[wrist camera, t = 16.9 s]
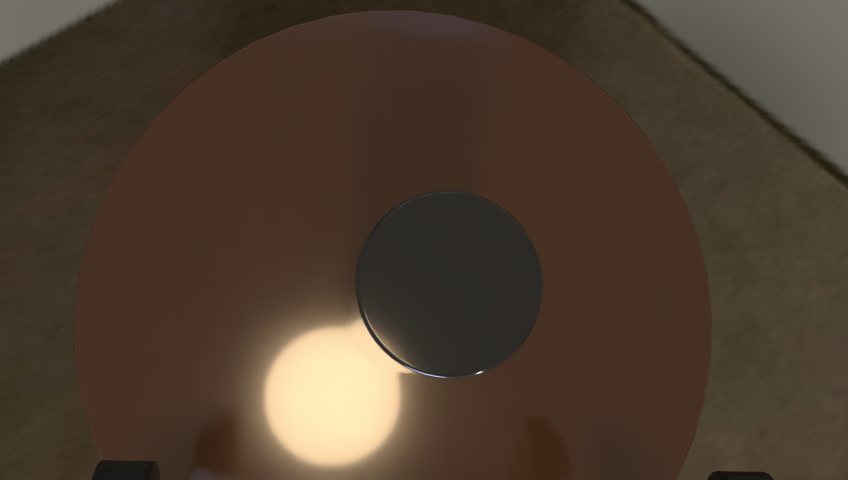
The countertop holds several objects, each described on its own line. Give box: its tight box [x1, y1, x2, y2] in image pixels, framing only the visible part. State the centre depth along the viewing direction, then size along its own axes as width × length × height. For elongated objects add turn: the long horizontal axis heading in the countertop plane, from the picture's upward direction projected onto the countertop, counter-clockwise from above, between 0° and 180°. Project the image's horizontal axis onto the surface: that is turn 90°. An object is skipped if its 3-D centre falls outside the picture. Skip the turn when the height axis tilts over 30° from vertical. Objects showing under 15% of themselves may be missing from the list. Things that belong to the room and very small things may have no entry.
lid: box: [74, 10, 712, 480], centre depth 15 cm, size 14×14×8 cm
